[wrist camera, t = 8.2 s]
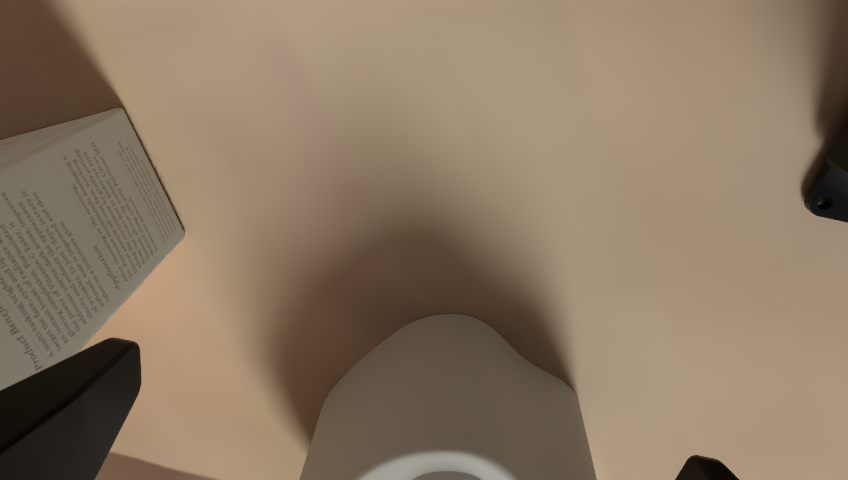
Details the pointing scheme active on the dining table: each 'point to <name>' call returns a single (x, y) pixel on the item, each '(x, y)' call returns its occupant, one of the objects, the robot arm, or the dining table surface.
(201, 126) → the dining table surface
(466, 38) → the dining table surface
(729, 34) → the dining table surface
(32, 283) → the small box
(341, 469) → the lumpy-topped squat cylinder
